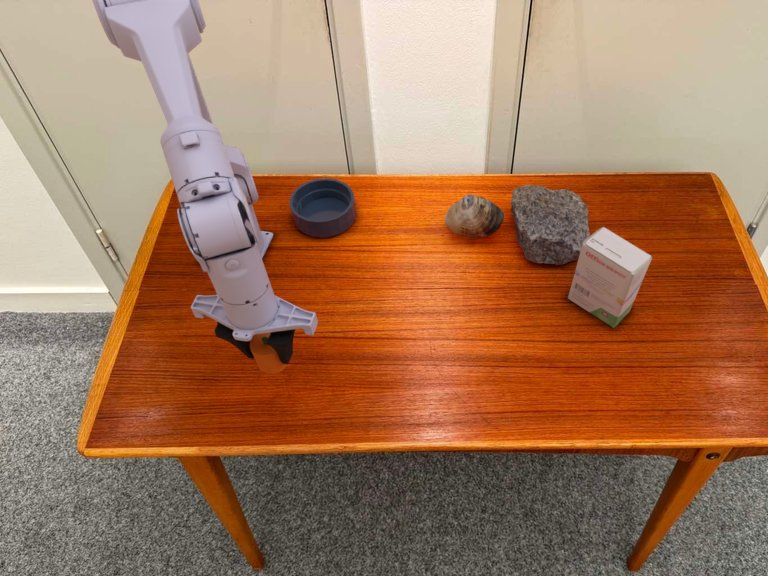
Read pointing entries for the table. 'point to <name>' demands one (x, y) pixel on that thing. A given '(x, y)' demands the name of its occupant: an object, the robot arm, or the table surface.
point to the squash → (265, 354)
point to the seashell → (474, 217)
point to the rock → (549, 223)
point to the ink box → (608, 276)
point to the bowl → (323, 207)
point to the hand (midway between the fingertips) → (270, 354)
